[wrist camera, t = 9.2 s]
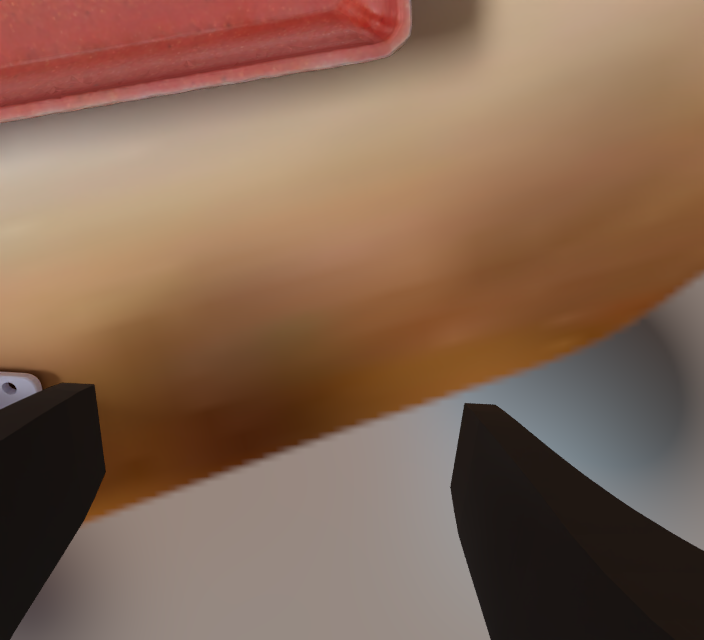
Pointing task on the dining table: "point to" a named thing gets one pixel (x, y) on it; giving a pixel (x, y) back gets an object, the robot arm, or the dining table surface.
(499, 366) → the dining table surface
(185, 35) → the plant saucer
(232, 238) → the dining table surface
